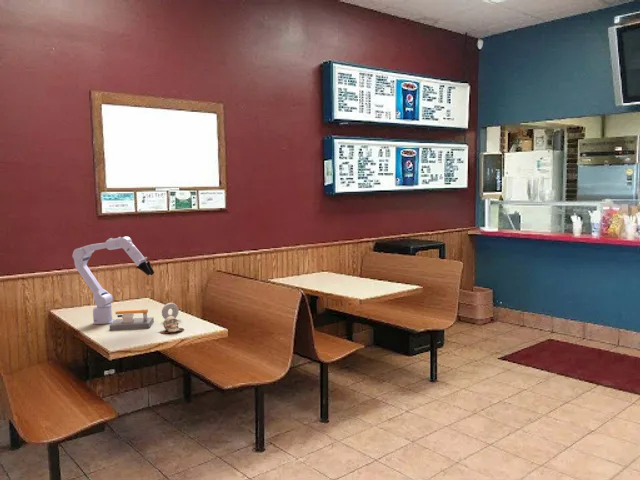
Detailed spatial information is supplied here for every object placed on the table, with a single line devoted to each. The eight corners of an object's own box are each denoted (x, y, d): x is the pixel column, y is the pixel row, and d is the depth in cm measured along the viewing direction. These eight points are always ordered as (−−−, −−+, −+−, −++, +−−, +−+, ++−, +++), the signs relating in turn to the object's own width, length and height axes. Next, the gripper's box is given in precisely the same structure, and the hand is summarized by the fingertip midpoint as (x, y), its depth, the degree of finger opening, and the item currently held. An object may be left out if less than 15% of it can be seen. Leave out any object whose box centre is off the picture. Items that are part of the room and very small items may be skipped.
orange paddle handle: (115, 314, 292) (115, 311, 292) (116, 313, 295) (116, 310, 295) (147, 312, 294) (147, 310, 294) (148, 311, 297) (148, 308, 297)
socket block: (109, 330, 287) (108, 317, 287) (116, 323, 301) (115, 311, 301) (149, 328, 290) (148, 315, 289) (153, 321, 304) (153, 309, 303)
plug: (117, 327, 292) (116, 315, 291) (119, 325, 297) (118, 313, 296) (132, 327, 293) (131, 315, 292) (134, 324, 298) (133, 313, 297)
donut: (164, 322, 301) (163, 304, 300) (160, 321, 303) (159, 303, 302) (180, 319, 308) (179, 301, 307) (176, 318, 310) (176, 300, 309)
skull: (189, 329, 282) (176, 316, 276) (175, 345, 278) (162, 332, 273) (180, 324, 291) (167, 312, 286) (166, 339, 287) (153, 327, 282)
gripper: (137, 250, 293) (154, 269, 293) (144, 250, 307) (160, 269, 308) (127, 258, 292) (143, 278, 292) (134, 258, 307) (150, 277, 307)
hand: (151, 274), depth 300 cm, fingers open, 7 cm apart
